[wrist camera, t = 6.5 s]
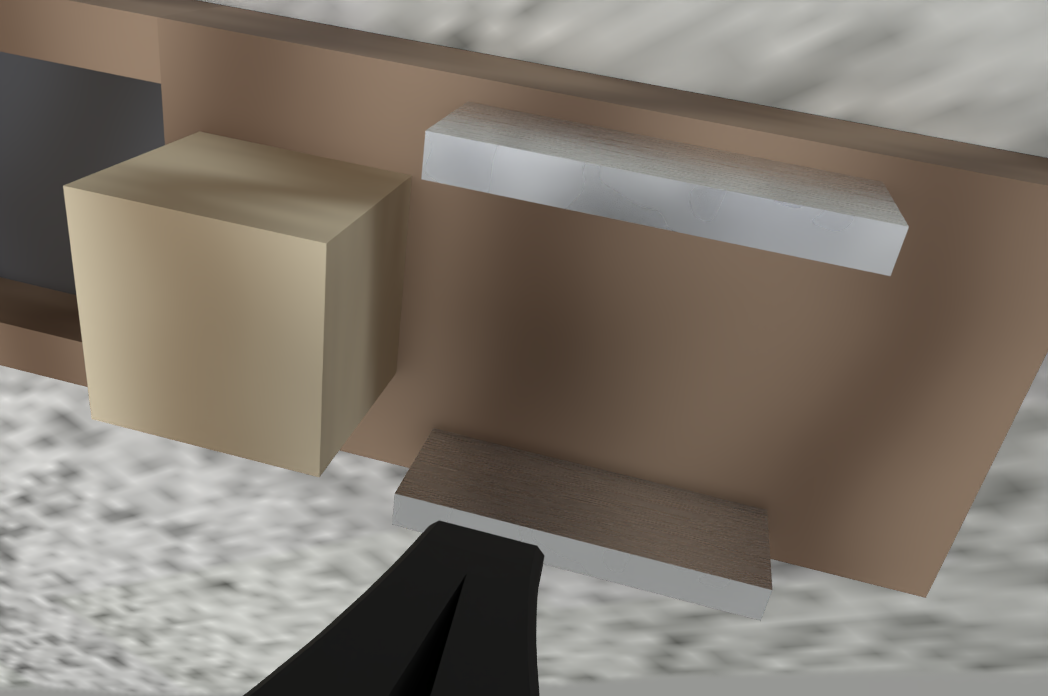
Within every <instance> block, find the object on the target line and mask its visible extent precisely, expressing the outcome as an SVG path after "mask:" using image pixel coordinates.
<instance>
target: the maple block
mask: <svg viewBox="0 0 1048 696" xmlns="http://www.w3.org/2000/svg"><path fill="white" fill-rule="evenodd" d="M411 181H412V175H408V174H403V173H398V172H393V171H388V170H383V169H378V168H374V167H369V166H364V165H359V164H354V163H349V162H345V161H340V160H335V159H330V158H325V157H320V156H315V155H311V154H306V153H301V152H296V151H291V150H286V149H282V148H277V147H272V146H267V145H262V144H257V143H252V142H248V141H243V140H238V139H233V138H228V137H223V136H219V135H214V134H209V133H204V132H197V133H195V134H192V135H190V136H187V137H185V138H182V139H180V140H177V141H174V142H172V143H169V144H167V145H164V146H162V147H159V148H157V149H154V150H152V151H149V152H147V153H144V154H142V155H139V156H137V157H134V158H132V159H129V160H127V161H124V162H121V163H119V164H116V165H114V166H111V167H109V168H106V169H104V170H101V171H99V172H96V173H94V174H91V175H89V176H86V177H84V178H81V179H79V180H76V181H74V182H71V183H69V184H66V185H63V189H64V197H65V205H66V213H67V221H68V230H69V238H70V246H71V254H72V262H73V270H74V278H75V287H76V295H77V303H78V311H79V319H80V327H81V336H82V344H83V352H84V360H85V368H86V376H87V384H88V393H89V401H90V409H91V417H92V419H94V420H98V421H102V422H106V423H109V424H113V425H117V426H121V427H125V428H129V429H133V430H137V431H141V432H145V433H148V434H152V435H156V436H160V437H164V438H168V439H172V440H176V441H180V442H184V443H187V444H191V445H195V446H199V447H203V448H207V449H211V450H215V451H219V452H223V453H226V454H230V455H234V456H238V457H242V458H246V459H250V460H254V461H258V462H262V463H265V464H269V465H273V466H277V467H281V468H285V469H289V470H293V471H297V472H301V473H304V474H308V475H312V476H316V477H320V476H321V474H322V473H323V472H324V470H325V469H326V468H327V466H328V465H329V464H330V462H331V461H332V459H333V458H334V457H335V455H336V454H337V453H338V451H339V450H340V449H341V447H342V446H343V445H344V443H345V442H346V441H347V439H348V438H349V436H350V435H351V434H352V432H353V431H354V430H355V428H356V427H357V426H358V424H359V423H360V422H361V420H362V419H363V418H364V416H365V415H366V413H367V412H368V411H369V409H370V408H371V407H372V405H373V404H374V403H375V401H376V400H377V399H378V397H379V396H380V395H381V393H382V392H383V390H384V389H385V388H386V386H387V385H388V384H389V382H390V381H391V380H392V378H393V377H394V376H395V374H396V371H397V358H398V345H399V333H400V320H401V307H402V295H403V282H404V269H405V257H406V244H407V231H408V219H409V206H410V193H411Z"/></svg>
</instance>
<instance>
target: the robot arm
mask: <svg viewBox="0 0 1048 696" xmlns="http://www.w3.org/2000/svg"><path fill="white" fill-rule="evenodd" d="M544 557H545V556H544V554H543V553H542V551H541V550H540V549H539V547H538V546H537V545H533V544H529V543H525V542H521V541H517V540H513V539H510V538H506V537H502V536H498V535H494V534H490V533H486V532H483V531H479V530H475V529H471V528H467V527H463V526H459V525H455V524H452V523H448V522H444V521H440V520H439V521H437V522H435V523H433V524H431V525H429V526H428V527H427V528H426V530H425V531H424V532H423V533H422V534H421V535H420V536H419V538H418V539H417V540H416V541H415V542H414V543H413V544H412V545H411V546H410V547H409V548H408V549H407V551H406V552H405V553H404V554H403V555H402V556H401V557H400V558H399V559H398V560H397V561H396V562H395V563H394V564H393V565H392V566H391V567H390V568H389V569H388V570H387V571H386V572H385V573H384V574H383V575H382V576H381V577H380V578H379V579H378V580H377V581H376V582H375V583H374V584H373V585H372V586H371V587H370V588H369V589H368V590H367V591H366V592H365V593H364V594H362V595H361V596H360V597H359V598H358V599H357V600H356V601H355V602H354V603H353V604H351V605H350V606H349V607H348V608H347V609H346V610H345V611H344V612H343V613H342V614H340V615H339V616H338V617H337V618H336V619H335V620H334V621H333V622H332V623H331V624H329V625H328V626H327V627H326V628H325V629H324V630H323V631H322V632H321V633H319V634H318V635H317V636H316V637H315V638H314V639H313V640H311V641H310V642H309V643H308V644H307V645H305V646H304V647H303V648H302V649H300V650H299V651H298V652H297V653H296V654H294V655H293V656H292V657H291V658H289V659H288V660H287V661H286V662H285V663H283V664H282V665H281V666H280V667H278V668H277V669H276V670H275V671H273V672H272V673H271V674H270V675H269V676H267V677H266V678H265V679H264V680H262V681H261V682H260V683H259V684H257V685H256V686H255V687H254V688H252V689H251V690H250V691H249V692H247V693H246V694H245V695H243V696H539V683H538V669H537V648H536V615H537V595H538V587H539V582H540V577H541V572H542V567H543V562H544Z"/></svg>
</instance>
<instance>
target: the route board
mask: <svg viewBox="0 0 1048 696" xmlns="http://www.w3.org/2000/svg"><path fill="white" fill-rule="evenodd" d="M466 102H474V103H479V104H484V105H489V106H494V107H499V108H505V109H510V110H515V111H520V112H525V113H531V114H536V115H541V116H546V117H551V118H556V119H562V120H567V121H572V122H577V123H582V124H587V125H593V126H598V127H603V128H608V129H613V130H619V131H624V132H629V133H634V134H639V135H644V136H650V137H655V138H660V139H665V140H670V141H675V142H681V143H686V144H691V145H696V146H701V147H707V148H712V149H717V150H722V151H727V152H732V153H738V154H743V155H748V156H753V157H758V158H763V159H769V160H774V161H779V162H784V163H789V164H795V165H800V166H805V167H810V168H815V169H820V170H826V171H831V172H836V173H841V174H846V175H851V176H857V177H862V178H867V179H872V180H877V181H883V183H884V185H885V187H886V188H887V190H888V192H889V193H890V195H891V197H892V199H893V200H894V202H895V204H896V205H897V207H898V209H899V211H900V212H901V214H902V216H903V217H904V219H905V221H906V223H907V224H908V226H909V228H908V231H907V233H906V236H905V239H904V241H903V244H902V247H901V249H900V252H899V255H898V257H897V260H896V263H895V265H894V268H893V271H892V273H891V276H887V275H883V274H878V273H873V272H868V271H863V270H858V269H853V268H849V267H844V266H839V265H834V264H829V263H824V262H820V261H815V260H810V259H805V258H800V257H795V256H791V255H786V254H781V253H776V252H771V251H766V250H762V249H757V248H752V247H747V246H742V245H737V244H732V243H728V242H723V241H718V240H713V239H708V238H703V237H699V236H694V235H689V234H684V233H679V232H674V231H670V230H665V229H660V228H655V227H650V226H645V225H640V224H636V223H631V222H626V221H621V220H616V219H611V218H607V217H602V216H597V215H592V214H587V213H582V212H578V211H573V210H568V209H563V208H558V207H553V206H548V205H544V204H539V203H534V202H529V201H524V200H519V199H515V198H510V197H505V196H500V195H495V194H490V193H486V192H481V191H476V190H471V189H466V188H461V187H456V186H452V185H447V184H442V183H437V182H432V181H427V180H423V179H421V178H422V166H423V154H424V142H425V131H426V130H427V129H429V128H430V127H432V126H433V125H434V124H436V123H437V122H439V121H440V120H442V119H443V118H445V117H446V116H448V115H449V114H450V113H452V112H453V111H455V110H456V109H458V108H459V107H461V106H462V105H464V104H465V103H466ZM197 132H204V133H209V134H214V135H219V136H223V137H228V138H233V139H238V140H243V141H248V142H252V143H257V144H262V145H267V146H272V147H277V148H282V149H286V150H291V151H296V152H301V153H306V154H311V155H315V156H320V157H325V158H330V159H335V160H340V161H345V162H349V163H354V164H359V165H364V166H369V167H374V168H378V169H383V170H388V171H393V172H398V173H403V174H408V175H412V181H411V193H410V206H409V219H408V231H407V244H406V257H405V269H404V282H403V295H402V307H401V320H400V333H399V345H398V358H397V371H396V374H395V376H394V377H393V378H392V380H391V381H390V382H389V384H388V385H387V386H386V388H385V389H384V390H383V392H382V393H381V395H380V396H379V397H378V399H377V400H376V401H375V403H374V404H373V405H372V407H371V408H370V409H369V411H368V412H367V413H366V415H365V416H364V418H363V419H362V420H361V422H360V423H359V424H358V426H357V427H356V428H355V430H354V431H353V432H352V434H351V435H350V436H349V438H348V439H347V441H346V442H345V443H344V445H343V446H342V447H341V449H340V451H344V452H348V453H352V454H356V455H360V456H364V457H368V458H372V459H376V460H380V461H384V462H388V463H392V464H396V465H400V466H404V467H408V468H410V467H411V465H412V463H413V462H414V460H415V458H416V457H417V455H418V453H419V451H420V450H421V448H422V446H423V445H424V443H425V441H426V440H427V438H428V436H429V434H430V433H431V431H432V429H433V428H434V429H439V430H443V431H447V432H451V433H455V434H459V435H463V436H467V437H471V438H475V439H480V440H484V441H488V442H492V443H496V444H500V445H504V446H508V447H512V448H516V449H520V450H525V451H529V452H533V453H537V454H541V455H545V456H549V457H553V458H557V459H561V460H565V461H570V462H574V463H578V464H582V465H586V466H590V467H594V468H598V469H602V470H606V471H610V472H615V473H619V474H623V475H627V476H631V477H635V478H639V479H643V480H647V481H651V482H655V483H660V484H664V485H668V486H672V487H676V488H680V489H684V490H688V491H692V492H696V493H700V494H705V495H709V496H713V497H717V498H721V499H725V500H729V501H733V502H737V503H741V504H745V505H750V506H754V507H758V508H762V509H766V510H767V514H768V530H769V546H770V559H774V560H778V561H782V562H786V563H790V564H794V565H798V566H802V567H806V568H810V569H814V570H818V571H822V572H826V573H830V574H834V575H838V576H842V577H846V578H849V579H853V580H857V581H861V582H865V583H869V584H873V585H877V586H881V587H885V588H889V589H893V590H897V591H901V592H905V593H909V594H913V595H917V596H921V597H925V598H926V596H927V594H928V592H929V590H930V588H931V586H932V584H933V582H934V580H935V578H936V576H937V574H938V572H939V570H940V568H941V566H942V564H943V562H944V560H945V558H946V556H947V554H948V552H949V550H950V548H951V546H952V544H953V542H954V540H955V538H956V536H957V534H958V532H959V529H960V527H961V525H962V523H963V521H964V519H965V517H966V515H967V513H968V511H969V509H970V507H971V505H972V503H973V501H974V499H975V497H976V495H977V493H978V491H979V489H980V487H981V485H982V483H983V481H984V479H985V477H986V475H987V473H988V471H989V469H990V467H991V465H992V463H993V461H994V459H995V457H996V455H997V453H998V451H999V449H1000V447H1001V445H1002V443H1003V441H1004V439H1005V437H1006V435H1007V433H1008V431H1009V429H1010V427H1011V425H1012V422H1013V420H1014V418H1015V416H1016V414H1017V412H1018V410H1019V408H1020V406H1021V404H1022V402H1023V400H1024V398H1025V396H1026V394H1027V392H1028V390H1029V388H1030V386H1031V384H1032V382H1033V380H1034V378H1035V376H1036V374H1037V372H1038V370H1039V368H1040V366H1041V364H1042V362H1043V360H1044V358H1045V356H1046V354H1047V352H1048V158H1043V157H1038V156H1033V155H1027V154H1022V153H1017V152H1011V151H1006V150H1000V149H995V148H990V147H984V146H979V145H973V144H968V143H963V142H957V141H952V140H946V139H941V138H936V137H930V136H925V135H919V134H914V133H909V132H903V131H898V130H893V129H887V128H882V127H876V126H871V125H866V124H860V123H855V122H849V121H844V120H839V119H833V118H828V117H822V116H817V115H812V114H806V113H801V112H795V111H790V110H785V109H779V108H774V107H768V106H763V105H758V104H752V103H747V102H742V101H736V100H731V99H725V98H720V97H715V96H709V95H704V94H698V93H693V92H688V91H682V90H677V89H671V88H666V87H661V86H655V85H650V84H644V83H639V82H634V81H628V80H623V79H617V78H612V77H607V76H601V75H596V74H591V73H585V72H580V71H574V70H569V69H564V68H558V67H553V66H547V65H542V64H537V63H531V62H526V61H520V60H515V59H510V58H504V57H499V56H493V55H488V54H483V53H477V52H472V51H467V50H461V49H456V48H450V47H445V46H440V45H434V44H429V43H423V42H418V41H413V40H407V39H402V38H396V37H391V36H386V35H380V34H375V33H369V32H364V31H359V30H353V29H348V28H342V27H337V26H332V25H326V24H321V23H316V22H310V21H305V20H299V19H294V18H289V17H283V16H278V15H272V14H267V13H262V12H256V11H251V10H245V9H240V8H235V7H229V6H224V5H218V4H213V3H208V2H202V1H197V0H0V365H2V366H6V367H10V368H14V369H18V370H22V371H26V372H30V373H34V374H38V375H42V376H46V377H50V378H54V379H58V380H62V381H66V382H70V383H74V384H78V385H82V386H86V387H88V384H87V376H86V368H85V360H84V352H83V344H82V336H81V327H80V319H79V311H78V303H77V295H76V287H75V278H74V270H73V262H72V254H71V246H70V238H69V230H68V221H67V213H66V205H65V197H64V189H63V185H66V184H69V183H71V182H74V181H76V180H79V179H81V178H84V177H86V176H89V175H91V174H94V173H96V172H99V171H101V170H104V169H106V168H109V167H111V166H114V165H116V164H119V163H121V162H124V161H127V160H129V159H132V158H134V157H137V156H139V155H142V154H144V153H147V152H149V151H152V150H154V149H157V148H159V147H162V146H164V145H167V144H169V143H172V142H174V141H177V140H180V139H182V138H185V137H187V136H190V135H192V134H195V133H197Z"/></svg>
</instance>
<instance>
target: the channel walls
mask: <svg viewBox="0 0 1048 696" xmlns="http://www.w3.org/2000/svg"><path fill="white" fill-rule="evenodd" d="M421 179H423V180H427V181H432V182H437V183H442V184H447V185H452V186H456V187H461V188H466V189H471V190H476V191H481V192H486V193H490V194H495V195H500V196H505V197H510V198H515V199H519V200H524V201H529V202H534V203H539V204H544V205H548V206H553V207H558V208H563V209H568V210H573V211H578V212H582V213H587V214H592V215H597V216H602V217H607V218H611V219H616V220H621V221H626V222H631V223H636V224H640V225H645V226H650V227H655V228H660V229H665V230H670V231H674V232H679V233H684V234H689V235H694V236H699V237H703V238H708V239H713V240H718V241H723V242H728V243H732V244H737V245H742V246H747V247H752V248H757V249H762V250H766V251H771V252H776V253H781V254H786V255H791V256H795V257H800V258H805V259H810V260H815V261H820V262H824V263H829V264H834V265H839V266H844V267H849V268H853V269H858V270H863V271H868V272H873V273H878V274H883V275H887V276H891V273H892V271H893V268H894V265H895V263H896V260H897V257H898V255H899V252H900V249H901V247H902V244H903V241H904V239H905V236H906V233H907V231H908V228H909V226H908V224H907V223H906V221H905V219H904V217H903V216H902V214H901V212H900V211H899V209H898V207H897V205H896V204H895V202H894V200H893V199H892V197H891V195H890V193H889V192H888V190H887V188H886V187H885V185H884V183H883V181H877V180H872V179H867V178H862V177H857V176H851V175H846V174H841V173H836V172H831V171H826V170H820V169H815V168H810V167H805V166H800V165H795V164H789V163H784V162H779V161H774V160H769V159H763V158H758V157H753V156H748V155H743V154H738V153H732V152H727V151H722V150H717V149H712V148H707V147H701V146H696V145H691V144H686V143H681V142H675V141H670V140H665V139H660V138H655V137H650V136H644V135H639V134H634V133H629V132H624V131H619V130H613V129H608V128H603V127H598V126H593V125H587V124H582V123H577V122H572V121H567V120H562V119H556V118H551V117H546V116H541V115H536V114H531V113H525V112H520V111H515V110H510V109H505V108H499V107H494V106H489V105H484V104H479V103H474V102H466V103H465V104H464V105H462V106H461V107H459V108H458V109H456V110H455V111H453V112H452V113H450V114H449V115H448V116H446V117H445V118H443V119H442V120H440V121H439V122H437V123H436V124H434V125H433V126H432V127H430V128H429V129H427V130H426V131H425V142H424V154H423V166H422V178H421ZM439 520H440V521H444V522H448V523H452V524H455V525H459V526H463V527H467V528H471V529H475V530H479V531H483V532H486V533H490V534H494V535H498V536H502V537H506V538H510V539H513V540H517V541H521V542H525V543H529V544H533V545H537V546H538V547H539V549H540V550H541V551H542V553H543V554H544V556H545V557H544V562H543V564H545V565H549V566H553V567H557V568H561V569H564V570H568V571H572V572H576V573H580V574H584V575H587V576H591V577H595V578H599V579H603V580H607V581H610V582H614V583H618V584H622V585H626V586H630V587H633V588H637V589H641V590H645V591H649V592H653V593H656V594H660V595H664V596H668V597H672V598H676V599H679V600H683V601H687V602H691V603H695V604H699V605H702V606H706V607H710V608H714V609H718V610H722V611H725V612H729V613H733V614H737V615H741V616H745V617H748V618H752V619H756V620H760V621H761V619H762V616H763V613H764V611H765V608H766V605H767V603H768V600H769V597H770V595H771V592H772V578H771V562H770V546H769V530H768V514H767V510H766V509H762V508H758V507H754V506H750V505H745V504H741V503H737V502H733V501H729V500H725V499H721V498H717V497H713V496H709V495H705V494H700V493H696V492H692V491H688V490H684V489H680V488H676V487H672V486H668V485H664V484H660V483H655V482H651V481H647V480H643V479H639V478H635V477H631V476H627V475H623V474H619V473H615V472H610V471H606V470H602V469H598V468H594V467H590V466H586V465H582V464H578V463H574V462H570V461H565V460H561V459H557V458H553V457H549V456H545V455H541V454H537V453H533V452H529V451H525V450H520V449H516V448H512V447H508V446H504V445H500V444H496V443H492V442H488V441H484V440H480V439H475V438H471V437H467V436H463V435H459V434H455V433H451V432H447V431H443V430H439V429H434V428H433V429H432V431H431V433H430V434H429V436H428V438H427V440H426V441H425V443H424V445H423V446H422V448H421V450H420V451H419V453H418V455H417V457H416V458H415V460H414V462H413V463H412V465H411V467H410V469H409V470H408V472H407V474H406V475H405V477H404V479H403V480H402V482H401V484H400V486H399V487H398V489H397V491H396V492H395V497H394V509H393V521H392V525H396V526H400V527H403V528H407V529H411V530H415V531H419V532H424V531H425V530H426V528H427V527H428V526H429V525H431V524H433V523H435V522H437V521H439Z"/></svg>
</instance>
